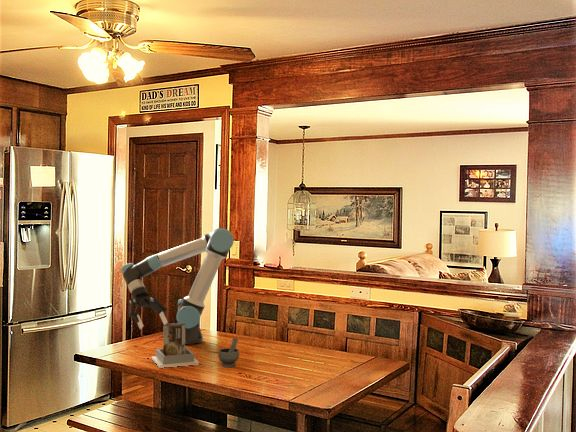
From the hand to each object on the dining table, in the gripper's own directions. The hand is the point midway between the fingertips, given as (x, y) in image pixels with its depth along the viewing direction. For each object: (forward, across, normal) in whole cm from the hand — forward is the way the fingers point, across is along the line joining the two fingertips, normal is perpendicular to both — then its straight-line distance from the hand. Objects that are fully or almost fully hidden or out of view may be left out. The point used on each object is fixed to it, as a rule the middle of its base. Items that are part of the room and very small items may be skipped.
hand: (154, 325), depth 294 cm
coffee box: (+21, 0, +3) cm, 22 cm away
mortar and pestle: (+37, -15, +18) cm, 44 cm away
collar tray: (+22, 0, +3) cm, 23 cm away
